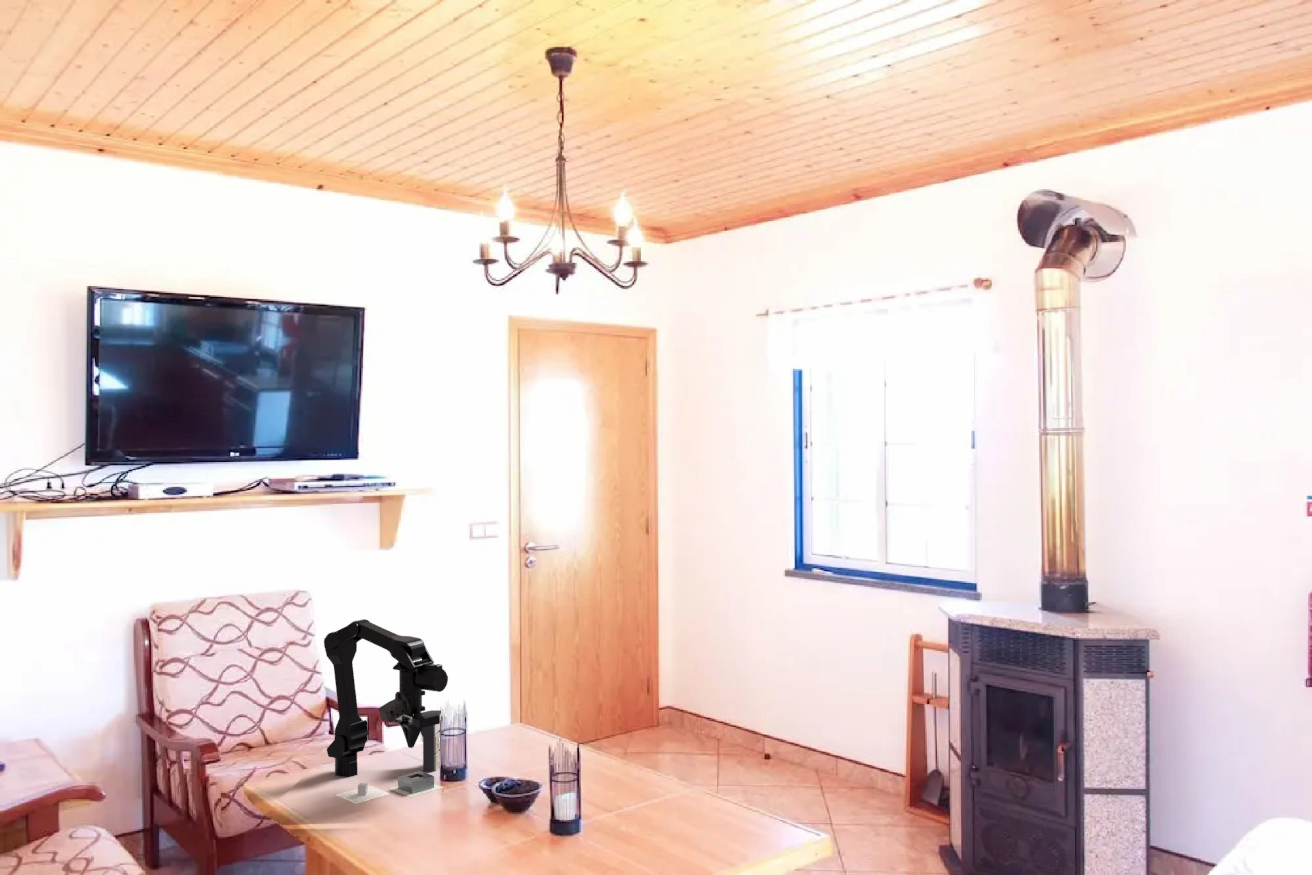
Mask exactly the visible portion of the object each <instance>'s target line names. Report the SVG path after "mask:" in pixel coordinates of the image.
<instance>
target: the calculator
mask: <svg viewBox="0 0 1312 875" xmlns="http://www.w3.org/2000/svg"><path fill="white" fill-rule="evenodd" d="M430 711H432V712H436V713H438V714H439V715H440V720H441V710H439V709H438V710H437V709H436V710H430ZM420 734H421V737H422V751H423V752H422V765H423V766H422V772H424V773H432V772H433V773H434V772H436V771H438V770H440V768H441V767H440V741H439V738H440V724H436V725H432V726H428V727H423V728H422V730H421V732H420ZM439 767H440V768H439Z"/></svg>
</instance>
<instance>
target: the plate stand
mask: <svg viewBox="0 0 1312 875" xmlns="http://www.w3.org/2000/svg"><path fill="white" fill-rule="evenodd" d="M389 795H391V793H389V792H387V791H385V790H382V789H380V788H377V787H375V786H373V785H369V783H368V782H359V784H357V788H356V789H355V788H354V789H351V790H347V791H343V792H340V793H336V794H335V796H336V797H339V798H341V799H343V800H346V801H347V802H350V803H352V804H354V805H358V804H361V803H364V802H367V801H370V800H375V799H379V798H382V797H386V796H389Z"/></svg>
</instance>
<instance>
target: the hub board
mask: <svg viewBox="0 0 1312 875" xmlns="http://www.w3.org/2000/svg"><path fill="white" fill-rule="evenodd" d="M417 778H420V777H414V778H412V779H417ZM443 788H444V786H442V785H438V784H436V783H434V788H431V789H428V790H424V791H421V792H418V793H414V794H411V793H408V792H406V791H403V790H401V789H398V785H397V786H393V787H390V788H388V789H389V790H391V791H393V792H396V793H399V794H402V795H404V796H407V797H408V798H414V797H416V796H420V795H424V794H427V793H430V792H431V793H432V792H434V791H437V790H440V789H443ZM442 791H443V792H445V790H444V789H443V790H442Z"/></svg>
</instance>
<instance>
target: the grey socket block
mask: <svg viewBox="0 0 1312 875" xmlns="http://www.w3.org/2000/svg"><path fill="white" fill-rule="evenodd" d="M414 777H420V778H417V779H412V778H414ZM434 784H435V776H434V775H432V774H430V773H428V772H423V770H417V771H415V772H411V773H407V774H403V775H398V776H397V786H398V789H401V790H403V791H406V792H408V793H411V794H414V793H418V792H421V791H424V790H428V789H431V788H434Z"/></svg>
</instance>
